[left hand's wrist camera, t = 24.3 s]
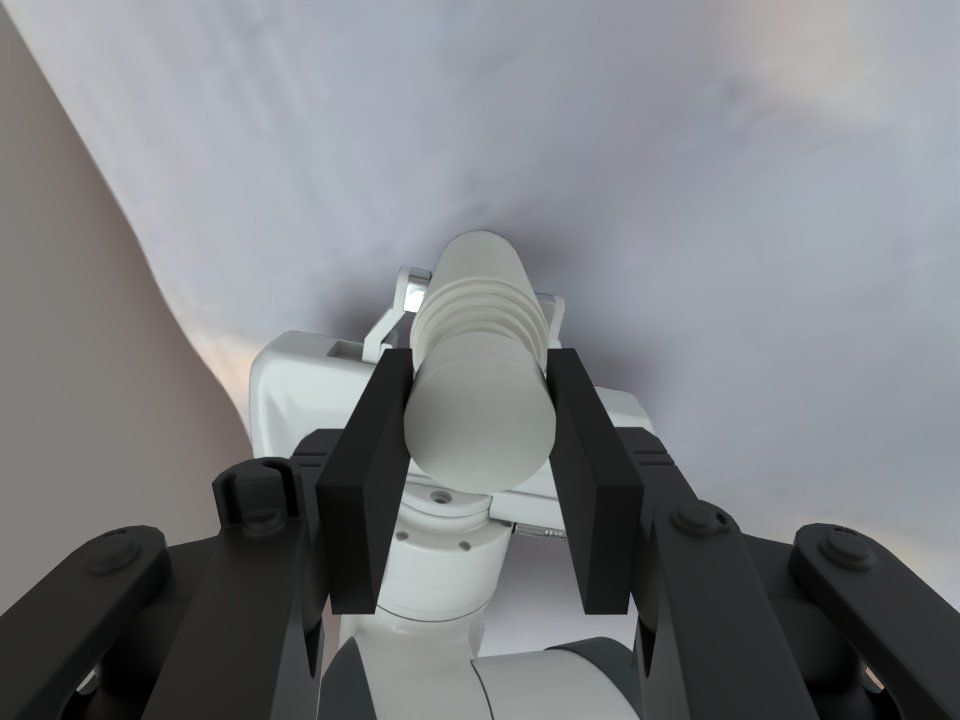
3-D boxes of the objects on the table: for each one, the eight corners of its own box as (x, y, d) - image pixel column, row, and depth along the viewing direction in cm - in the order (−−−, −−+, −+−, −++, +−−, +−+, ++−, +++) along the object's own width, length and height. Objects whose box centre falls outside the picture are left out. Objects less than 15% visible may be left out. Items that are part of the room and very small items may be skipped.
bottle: (422, 254, 30) (344, 375, 13) (500, 215, 29) (529, 289, 12) (460, 328, 32) (438, 524, 14) (535, 293, 31) (606, 457, 14)
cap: (504, 305, 14) (508, 328, 12) (570, 415, 15) (583, 453, 13) (386, 373, 14) (371, 405, 12) (457, 473, 15) (454, 517, 14)
